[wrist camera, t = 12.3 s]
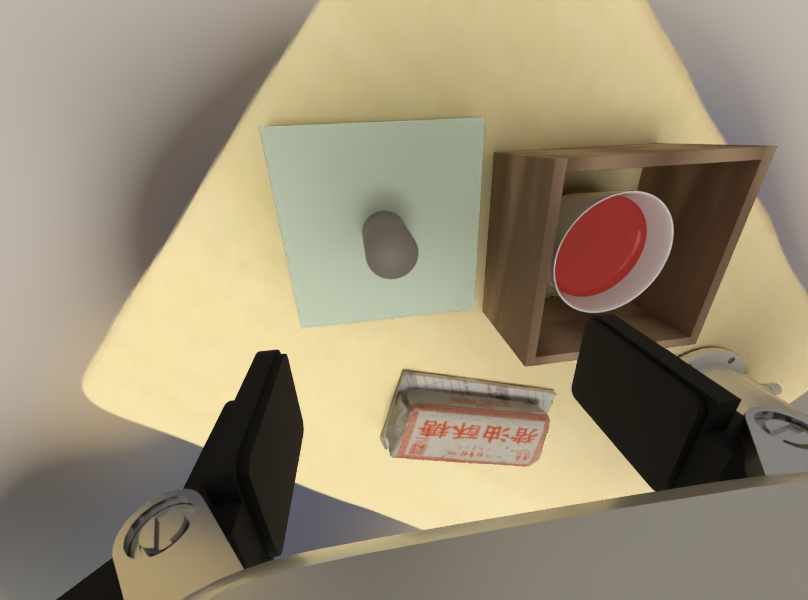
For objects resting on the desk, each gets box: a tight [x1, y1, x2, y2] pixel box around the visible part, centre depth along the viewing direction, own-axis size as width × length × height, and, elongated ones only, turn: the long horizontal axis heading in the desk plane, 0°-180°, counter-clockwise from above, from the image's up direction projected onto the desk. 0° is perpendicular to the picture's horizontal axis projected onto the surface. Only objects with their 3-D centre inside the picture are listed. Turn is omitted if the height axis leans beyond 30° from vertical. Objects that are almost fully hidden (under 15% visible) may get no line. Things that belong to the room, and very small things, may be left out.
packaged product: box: [380, 371, 557, 467], centre depth 36 cm, size 18×5×10 cm
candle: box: [548, 191, 674, 313], centre depth 27 cm, size 9×9×6 cm
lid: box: [259, 117, 485, 329], centre depth 23 cm, size 14×14×7 cm
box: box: [483, 143, 777, 367], centre depth 26 cm, size 14×14×8 cm
